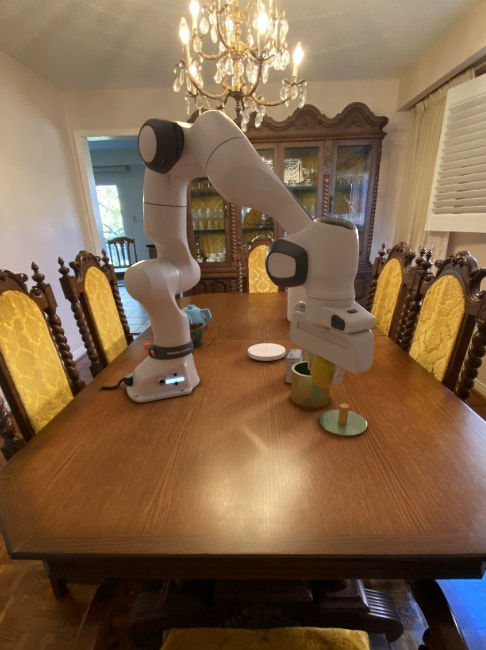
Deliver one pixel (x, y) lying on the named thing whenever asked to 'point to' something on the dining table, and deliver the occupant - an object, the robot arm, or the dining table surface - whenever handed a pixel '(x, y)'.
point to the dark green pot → (196, 333)
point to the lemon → (322, 372)
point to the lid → (343, 422)
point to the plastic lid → (266, 351)
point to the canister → (295, 299)
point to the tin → (306, 388)
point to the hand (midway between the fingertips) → (324, 376)
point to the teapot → (197, 314)
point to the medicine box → (292, 362)
